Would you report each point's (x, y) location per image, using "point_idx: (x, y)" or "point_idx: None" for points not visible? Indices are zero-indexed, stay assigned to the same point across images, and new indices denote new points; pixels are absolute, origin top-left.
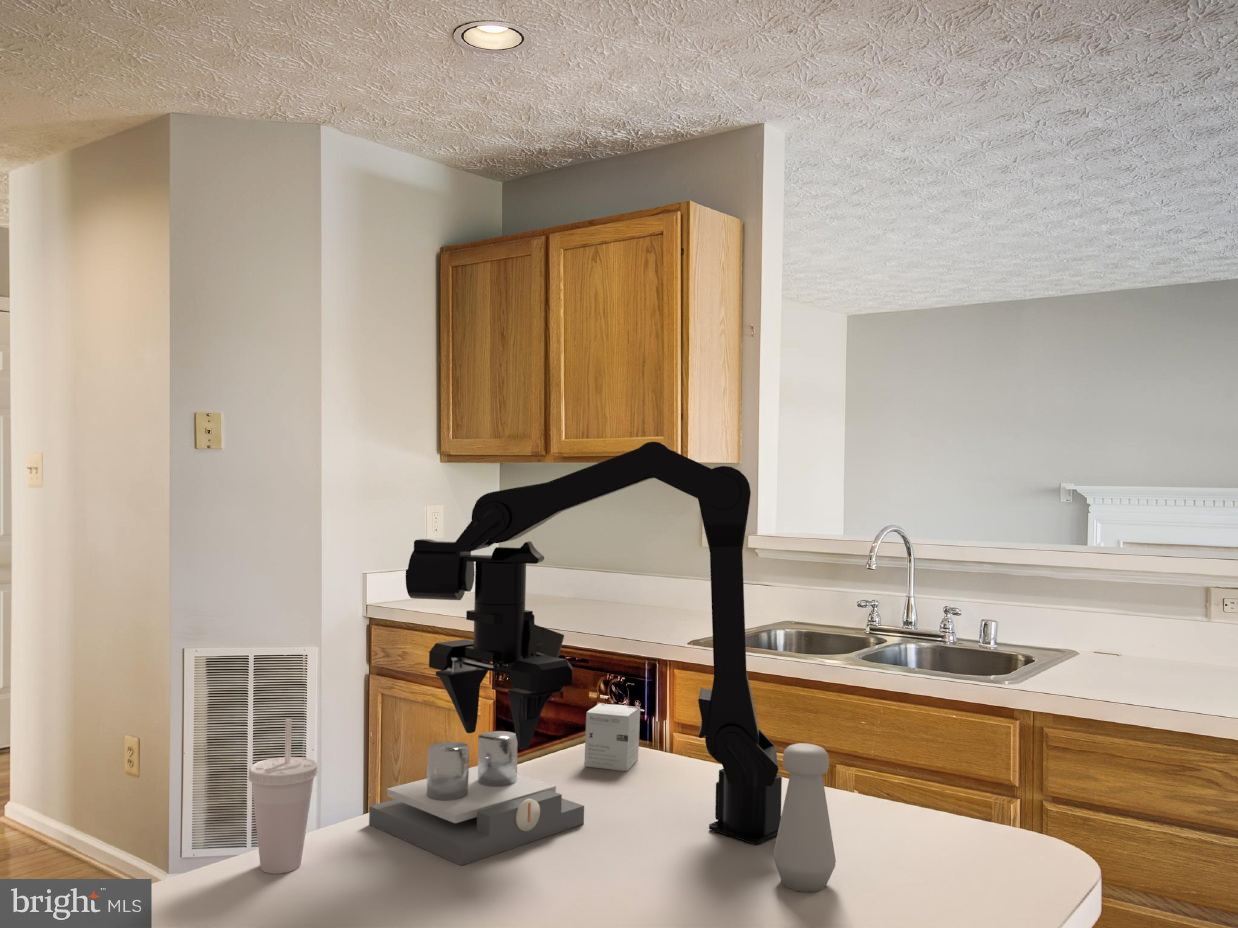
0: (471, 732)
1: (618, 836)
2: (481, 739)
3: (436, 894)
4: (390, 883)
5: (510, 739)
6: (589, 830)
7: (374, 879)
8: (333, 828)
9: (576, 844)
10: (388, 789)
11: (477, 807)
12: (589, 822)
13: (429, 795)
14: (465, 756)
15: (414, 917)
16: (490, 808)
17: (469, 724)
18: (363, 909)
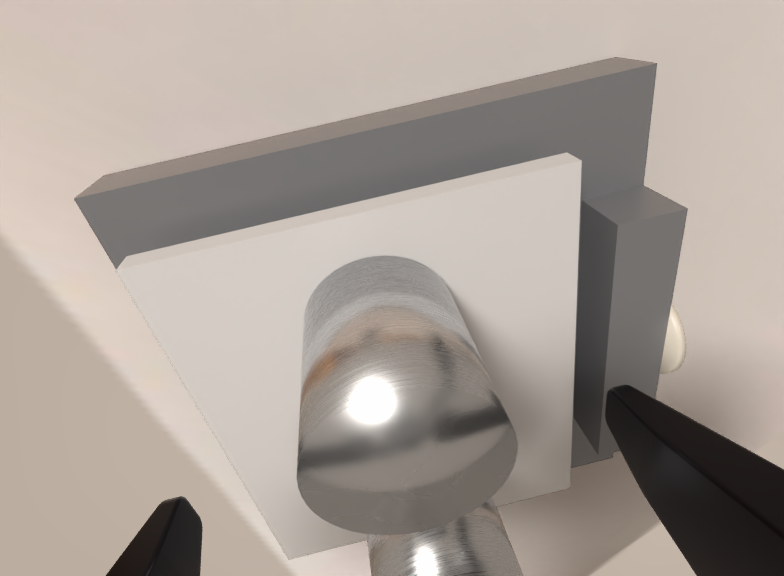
0: (192, 509)
1: (775, 20)
2: (414, 529)
3: None
4: (564, 511)
5: (512, 442)
6: (667, 77)
7: (535, 524)
8: (271, 545)
9: (703, 179)
10: (295, 556)
11: (562, 440)
12: (618, 26)
13: None
14: (518, 568)
15: None
16: (606, 427)
17: (191, 567)
18: (609, 542)
